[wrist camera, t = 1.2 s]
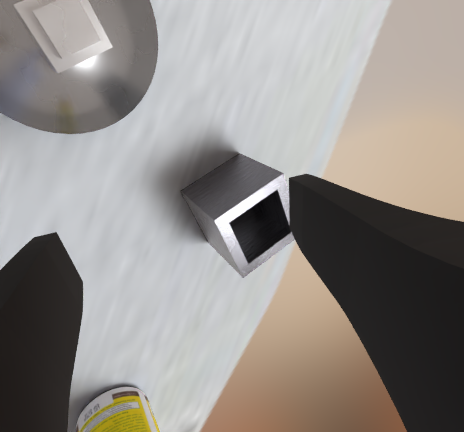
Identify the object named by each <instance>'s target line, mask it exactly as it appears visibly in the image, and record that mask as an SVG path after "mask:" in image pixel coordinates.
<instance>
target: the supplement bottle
mask: <svg viewBox="0 0 464 432" xmlns="http://www.w3.org/2000/svg"><path fill="white" fill-rule="evenodd" d="M76 432H160V431H159V428H158V426H157V423H156V420H155V418H154V415H153V412H152V409H151V407H150V404H149V401H148V399H147V397H146V395H145V394H144V393H143V392H142V391H141V390H139V389H137V388H133V387H120V388H116V389H112V390H110V391H107V392H105V393H103V394H101V395H100V396H98V397H97V398H95V399H94V400H93V401H92V402H90V403H89V404H88V405H87V406H86V408H85V409H84V410H83V411H82V413H81V414H80V416H79V418H78V421H77V424H76Z"/></svg>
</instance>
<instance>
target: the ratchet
mask: <svg viewBox="0 0 464 432" xmlns="http://www.w3.org/2000/svg"><path fill="white" fill-rule="evenodd" d="M157 55H158V34H157V27H156V21H155V17H154V13H153V9H152V6H151V3H150V0H0V112H1V113H2V114H4V115H6V116H8V117H9V118H11V119H13V120H15V121H18V122H20V123H22V124H24V125H27V126H30V127H33V128H36V129H39V130H43V131H48V132H53V133H64V134H78V133H86V132H92V131H96V130H99V129H103V128H106V127H108V126H110V125H112V124H114V123H116V122H118V121H119V120H121V119H122V118H124V117H125V116H126V115H128V114H129V113H130V112H131V111H132V110H133V109H134V108H135V107H136V106H137V105H138V104H139V102H140V101H141V100H142V98H143V97H144V95H145V94H146V92H147V90H148V88H149V86H150V84H151V81H152V78H153V75H154V72H155V68H156V63H157Z"/></svg>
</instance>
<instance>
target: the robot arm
mask: <svg viewBox="0 0 464 432" xmlns="http://www.w3.org/2000/svg"><path fill="white" fill-rule="evenodd" d="M289 228H290V230H291V232H292V234H293V236H294V238H295V240H296V242H297V244H298V246H299V248H300V250H301V251H302V253H303V254H304V256H305V257H306V259H307V260H308V262H309V263H310V264H311V266H312V267H313V269H314V270H315V271H316V273H317V274H318V276H319V277H320V278H321V280H322V281H323V282H324V284H325V285H326V287H327V288H328V289H329V291H330V292H331V293H332V295H333V296H334V298H335V299H336V300H337V302H338V303H339V305H340V306H341V308H342V309H343V311H344V312H345V314H346V315H347V317H348V319H349V321H350V322H351V324H352V326H353V328H354V329H355V331H356V333H357V334H358V336H359V338H360V340H361V342H362V343H363V345H364V347H365V349H366V351H367V353H368V355H369V356H370V358H371V360H372V362H373V364H374V366H375V368H376V369H377V371H378V373H379V375H380V377H381V379H382V381H383V383H384V385H385V387H386V389H387V391H388V393H389V395H390V397H391V399H392V401H393V403H394V405H395V407H396V409H397V411H398V413H399V415H400V417H401V419H402V422H403V423H404V426H405V428H406V430H407V432H464V222H461V221H455V220H450V219H445V218H440V217H436V216H432V215H428V214H424V213H420V212H416V211H412V210H409V209H405V208H402V207H398V206H395V205H392V204H389V203H386V202H383V201H380V200H377V199H374V198H371V197H368V196H365V195H362V194H360V193H357V192H355V191H352V190H349V189H347V188H344V187H342V186H339V185H337V184H334V183H331V182H329V181H326V180H324V179H321V178H318V177H316V176H313V175H309V174H304V175H299V176H295V177H291V178H289ZM82 312H83V281H82V279H81V277H80V275H79V274H78V272H77V270H76V268H75V266H74V264H73V262H72V260H71V259H70V257H69V255H68V253H67V251H66V249H65V247H64V245H63V243H62V242H61V240H60V238H59V236H58V234H57V232H55V233H51V234H47V235H42V236H38V237H34V238H33V239H32V240H31V241H29V242H28V243H27V244H26V245H25V246H24V247H23V248H22V249H21V250H20V251H19V252H18V253H17V254H16V255H15V256H14V257H13V258H12V259H11V260H10V261H9V262H8V263H7V264H6V265H5V266H4V267H3V268H2V269H1V270H0V432H67V426H68V408H69V396H70V388H71V381H72V375H73V369H74V363H75V357H76V351H77V345H78V339H79V332H80V326H81V319H82Z"/></svg>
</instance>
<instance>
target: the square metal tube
mask: <svg viewBox="0 0 464 432" xmlns="http://www.w3.org/2000/svg"><path fill="white" fill-rule="evenodd" d="M181 193H182V195H183V197H184V199H185V200H186V202H187V204H188V206H189V208H190V210H191V211H192V213H193V215H194V217H195V219H196V221H197V222H198V224H199V226H200V228H201V230H202V232H203V233H204V235H205V237H206V239H207V241H208V242H209V244H210V245H211V246H212V247H213V248H214V249H215V250H216V251H217V252H218V253H219V254H220V255H221V256H222V257H223V258H224V259H225V260H226V261H227V262H228V263H229V264H230V265H231V266H232V267H233V268H234V269H235V270H236V271H237V272H238V273H239V274H240V275H241V276H242V277H243V278H244V277H245V276H246V275H248V274H249V273H250V272H252V271H253V270H254V269H256V268H257V267H258V266H260V265H261V264H262V263H264V262H265V261H266V260H268V259H269V258H270V257H272V256H273V255H274V254H276V253H277V252H278V251H280V250H281V249H282V248H284V247H285V246H286V245H288V244H289V243H290V242H292V241H293V240H294V239H295V238H294V236H293V234H292V232H291V230H290V228H289V190H288V186H287V183H286V180H285V177H284V173H282V172H279V171H277V170H275V169H273V168H271V167H268V166H266V165H264V164H262V163H260V162H257V161H255V160H253V159H251V158H249V157H246V156H244V155H242V154H238V155H237V156H235V157H233V158H232V159H230V160H229V161H227V162H226V163H224V164H222V165H221V166H219V167H218V168H216V169H215V170H213V171H211V172H210V173H208V174H207V175H205V176H204V177H202V178H200V179H199V180H197V181H196V182H194V183H192V184H191V185H189V186H188V187H186V188H185V189H183V190H181Z"/></svg>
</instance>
